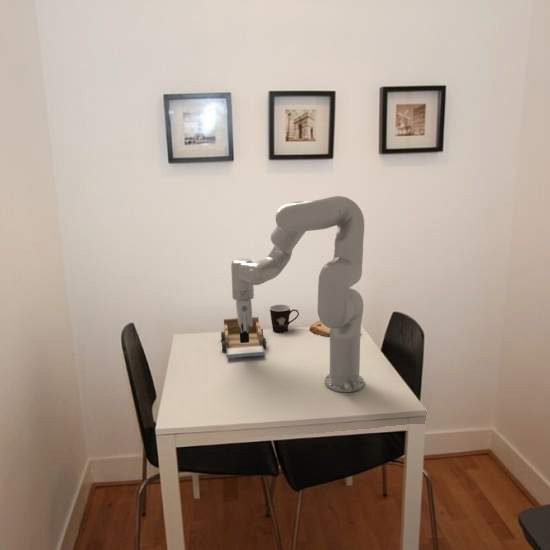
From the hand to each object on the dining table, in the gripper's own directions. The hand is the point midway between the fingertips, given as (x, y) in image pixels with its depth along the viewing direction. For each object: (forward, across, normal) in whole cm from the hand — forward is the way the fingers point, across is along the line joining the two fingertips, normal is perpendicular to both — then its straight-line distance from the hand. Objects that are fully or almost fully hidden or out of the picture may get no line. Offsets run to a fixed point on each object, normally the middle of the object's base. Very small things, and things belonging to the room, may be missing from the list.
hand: (244, 341), depth 171 cm
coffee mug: (+7, +25, -18) cm, 32 cm away
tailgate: (+5, +5, 0) cm, 7 cm away
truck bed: (+7, +14, 0) cm, 15 cm away
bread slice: (+7, +20, -39) cm, 44 cm away
